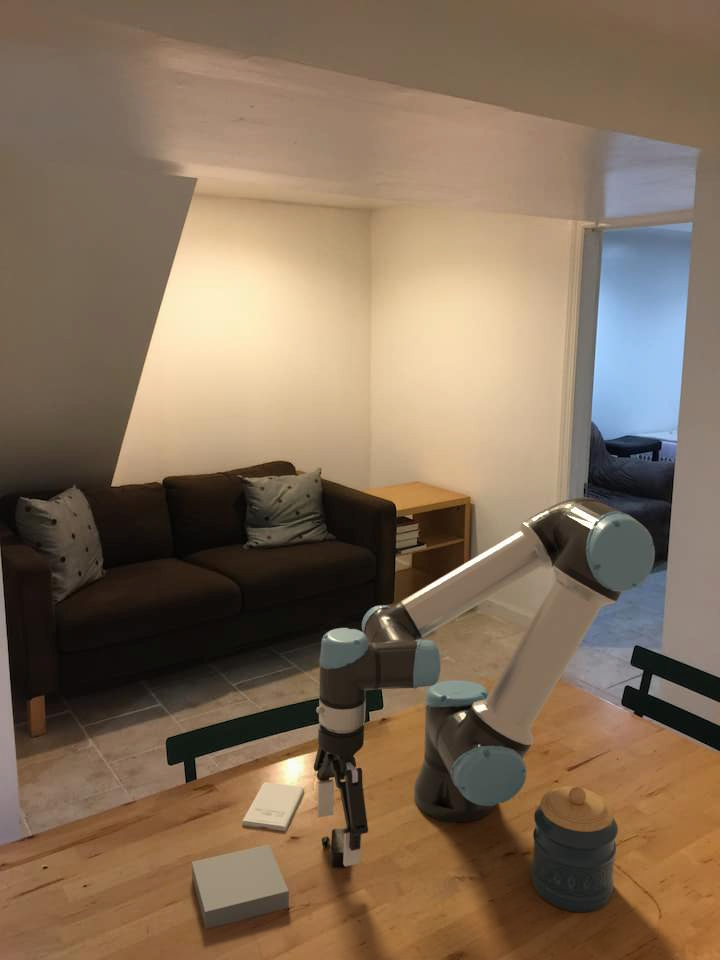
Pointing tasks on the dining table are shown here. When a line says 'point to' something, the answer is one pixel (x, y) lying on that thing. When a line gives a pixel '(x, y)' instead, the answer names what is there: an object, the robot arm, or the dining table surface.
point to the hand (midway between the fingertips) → (337, 838)
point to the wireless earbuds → (336, 847)
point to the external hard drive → (273, 806)
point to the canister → (574, 849)
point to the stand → (239, 886)
